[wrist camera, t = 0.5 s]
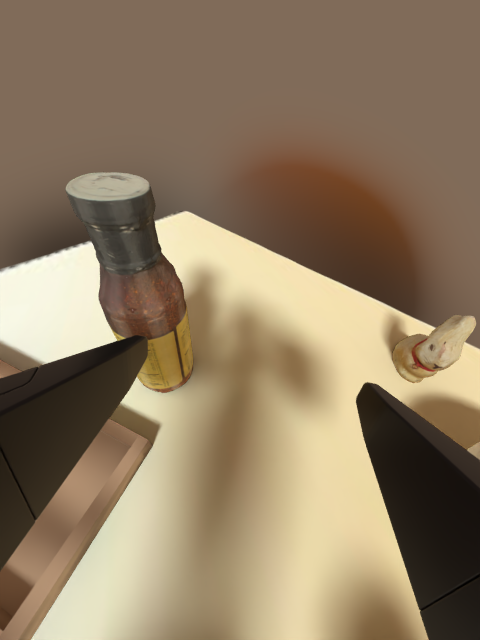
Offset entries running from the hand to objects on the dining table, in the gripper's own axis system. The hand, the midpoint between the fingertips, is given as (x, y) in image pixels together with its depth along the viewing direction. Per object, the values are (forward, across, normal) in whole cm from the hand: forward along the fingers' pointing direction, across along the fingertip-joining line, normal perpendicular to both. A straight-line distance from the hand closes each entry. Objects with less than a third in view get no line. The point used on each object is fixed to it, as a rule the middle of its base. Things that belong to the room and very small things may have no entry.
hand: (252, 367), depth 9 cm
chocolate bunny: (+21, -23, +10) cm, 33 cm away
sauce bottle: (+13, +9, +13) cm, 20 cm away
